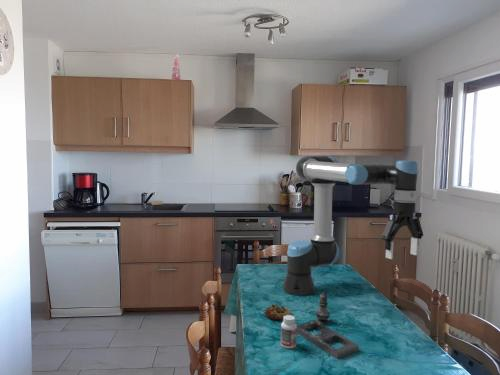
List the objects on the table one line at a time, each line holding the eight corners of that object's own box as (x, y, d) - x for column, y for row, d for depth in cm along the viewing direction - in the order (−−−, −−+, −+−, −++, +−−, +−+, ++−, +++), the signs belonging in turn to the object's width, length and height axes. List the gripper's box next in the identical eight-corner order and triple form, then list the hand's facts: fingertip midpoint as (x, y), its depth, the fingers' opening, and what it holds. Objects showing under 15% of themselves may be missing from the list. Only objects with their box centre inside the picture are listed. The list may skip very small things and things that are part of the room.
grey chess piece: (321, 326, 144) (322, 295, 143) (311, 319, 149) (312, 290, 148) (333, 323, 147) (334, 293, 146) (323, 317, 152) (324, 288, 151)
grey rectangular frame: (293, 331, 139) (294, 326, 139) (314, 325, 144) (314, 320, 144) (336, 359, 120) (337, 353, 120) (358, 351, 126) (359, 345, 126)
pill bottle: (293, 350, 125) (294, 321, 125) (278, 347, 127) (279, 319, 127) (297, 342, 130) (298, 315, 130) (283, 339, 132) (283, 312, 132)
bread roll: (260, 318, 149) (261, 306, 149) (268, 312, 159) (269, 300, 160) (287, 324, 145) (289, 311, 145) (294, 317, 156) (295, 305, 156)
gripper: (389, 203, 133) (386, 262, 135) (435, 201, 145) (431, 255, 147) (373, 201, 140) (370, 257, 142) (418, 199, 152) (415, 250, 153)
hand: (401, 256), depth 144 cm, fingers open, 13 cm apart
